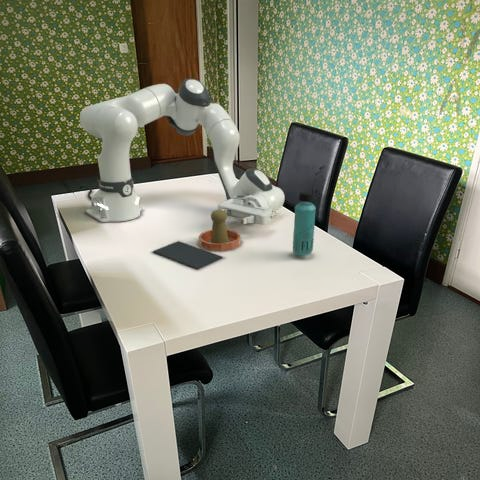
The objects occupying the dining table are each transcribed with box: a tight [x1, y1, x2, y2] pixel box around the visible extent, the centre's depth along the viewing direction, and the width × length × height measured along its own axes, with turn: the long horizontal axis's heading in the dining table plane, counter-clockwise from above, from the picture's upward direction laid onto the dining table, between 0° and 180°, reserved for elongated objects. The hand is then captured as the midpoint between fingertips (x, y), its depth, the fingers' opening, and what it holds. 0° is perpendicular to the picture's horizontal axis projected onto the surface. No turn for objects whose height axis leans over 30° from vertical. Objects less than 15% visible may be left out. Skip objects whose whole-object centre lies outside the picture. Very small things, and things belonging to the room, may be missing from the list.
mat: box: [152, 240, 223, 270], centre depth 147 cm, size 20×11×1 cm, turn 49°
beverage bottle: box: [292, 190, 317, 256], centre depth 141 cm, size 6×7×20 cm
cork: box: [210, 209, 229, 244], centre depth 152 cm, size 6×6×11 cm
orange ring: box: [197, 229, 242, 252], centre depth 154 cm, size 14×14×2 cm
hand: (231, 218), depth 156 cm, fingers open, 8 cm apart
